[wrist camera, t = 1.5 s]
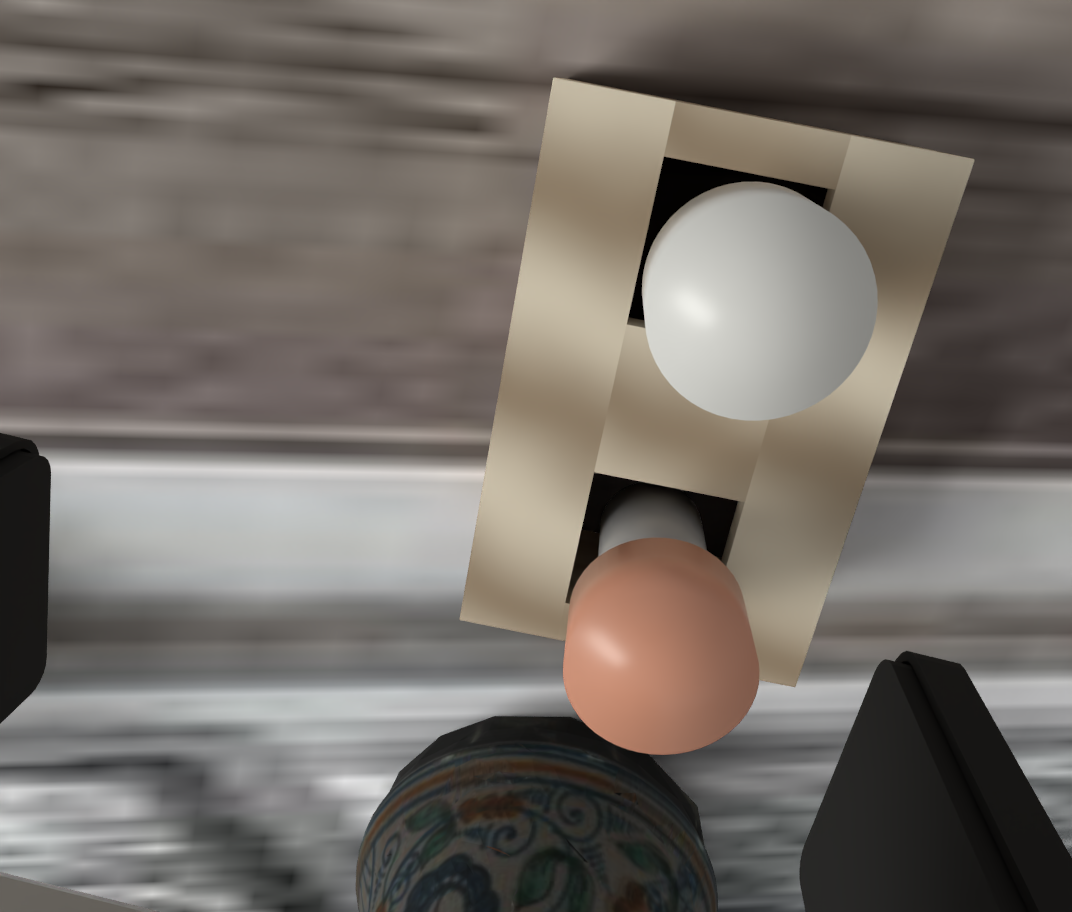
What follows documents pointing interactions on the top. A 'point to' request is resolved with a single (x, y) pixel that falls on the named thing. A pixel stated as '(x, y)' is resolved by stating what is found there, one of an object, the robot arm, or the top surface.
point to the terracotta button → (658, 630)
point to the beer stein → (534, 828)
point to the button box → (645, 394)
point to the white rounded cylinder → (757, 301)
